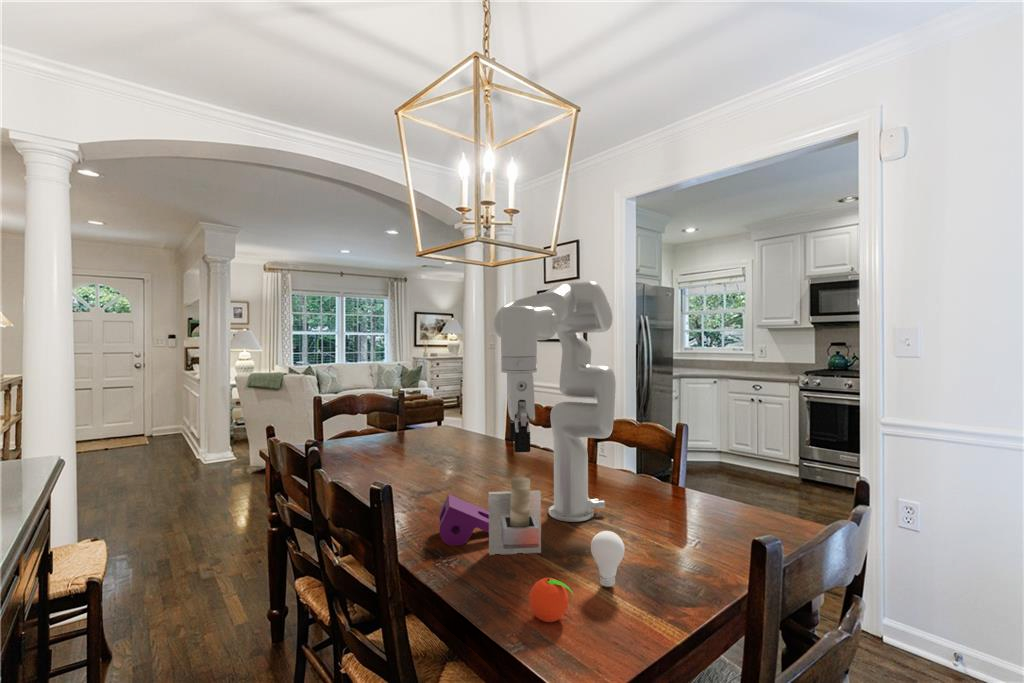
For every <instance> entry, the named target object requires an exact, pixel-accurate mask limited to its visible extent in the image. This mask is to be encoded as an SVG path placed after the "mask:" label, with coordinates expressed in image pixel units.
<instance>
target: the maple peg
mask: <svg viewBox="0 0 1024 683" xmlns="http://www.w3.org/2000/svg"><path fill="white" fill-rule="evenodd" d="M510 491H511V511H510V527H529V513H530V491H531V479H530V478H528V477H525V476H524V477H523V476H516V477H512V478H511V479H510Z"/></svg>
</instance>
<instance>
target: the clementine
mask: <svg viewBox="0 0 1024 683" xmlns="http://www.w3.org/2000/svg"><path fill="white" fill-rule="evenodd" d="M566 589H567V590H568V591H569V592H570V593H571V594H572V596H573V598H575V596H574V593H573V591H572V590H571V588H570V587H569V586H568V585H567V584H565V583H564V582H562V581H561V580H557V579H556V578H553V577H544V578H543V577H542V578H541V579H539V580H538V581H536V582H535V584H533V585H532V587H531V589H530V593H529V600H528V601H529V606H530V609H531V611H532V613H533V615H534V616H535V617H536V618H537V619H539V620H540V621H543V622H545V623H553V622H557V621H558V620H561V619H562V618H563V616H564V615H565V614H566V612H567V610H568V607H569V595H568V592H567V590H566Z"/></svg>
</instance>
